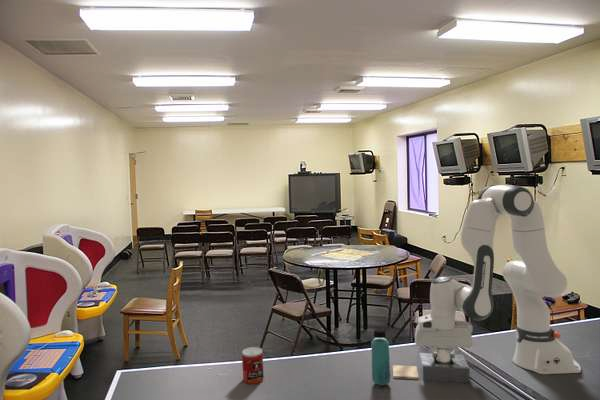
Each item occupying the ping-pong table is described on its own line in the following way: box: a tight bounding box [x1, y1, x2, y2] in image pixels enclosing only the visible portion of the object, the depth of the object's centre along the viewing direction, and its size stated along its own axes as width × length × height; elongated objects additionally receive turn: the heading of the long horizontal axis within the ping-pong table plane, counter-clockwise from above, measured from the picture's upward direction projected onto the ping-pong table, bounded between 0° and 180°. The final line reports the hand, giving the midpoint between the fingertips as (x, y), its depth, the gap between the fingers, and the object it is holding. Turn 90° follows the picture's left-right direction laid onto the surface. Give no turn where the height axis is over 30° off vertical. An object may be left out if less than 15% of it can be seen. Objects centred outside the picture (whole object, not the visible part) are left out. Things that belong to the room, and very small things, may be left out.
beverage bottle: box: [370, 328, 391, 386], centre depth 154 cm, size 6×7×20 cm
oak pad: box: [392, 364, 420, 380], centre depth 163 cm, size 9×9×1 cm
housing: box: [419, 352, 471, 383], centre depth 161 cm, size 16×12×5 cm
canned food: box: [241, 346, 265, 385], centre depth 161 cm, size 8×8×11 cm
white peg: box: [435, 347, 452, 365], centre depth 161 cm, size 5×5×10 cm
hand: (443, 357), depth 161 cm, fingers closed on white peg, 5 cm apart
